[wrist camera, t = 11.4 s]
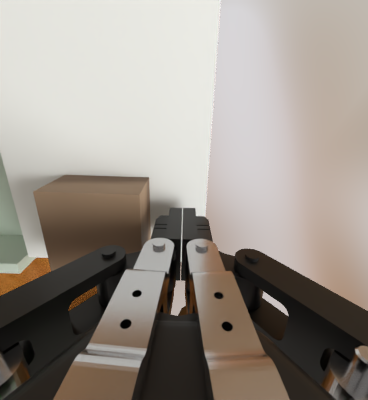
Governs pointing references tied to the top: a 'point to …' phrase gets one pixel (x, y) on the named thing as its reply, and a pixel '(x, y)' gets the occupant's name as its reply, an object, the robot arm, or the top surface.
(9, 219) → the box
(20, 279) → the top surface
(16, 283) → the top surface
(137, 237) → the tile
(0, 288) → the top surface
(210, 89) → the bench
